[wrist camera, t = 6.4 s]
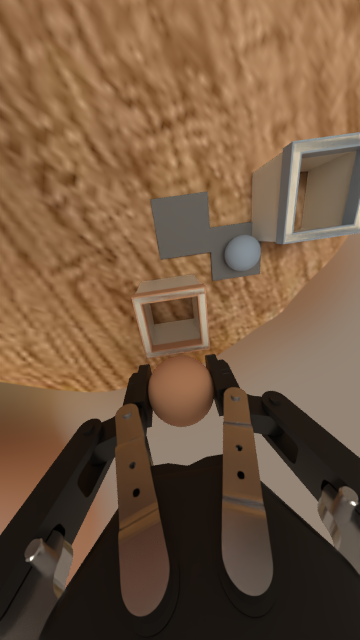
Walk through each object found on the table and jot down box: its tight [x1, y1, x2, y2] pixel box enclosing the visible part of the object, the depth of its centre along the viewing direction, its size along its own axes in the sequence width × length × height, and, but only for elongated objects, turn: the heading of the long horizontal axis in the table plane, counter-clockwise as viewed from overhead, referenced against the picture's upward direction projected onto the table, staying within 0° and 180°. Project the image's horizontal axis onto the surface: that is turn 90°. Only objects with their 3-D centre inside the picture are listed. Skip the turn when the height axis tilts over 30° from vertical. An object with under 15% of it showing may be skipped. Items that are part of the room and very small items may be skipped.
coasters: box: [151, 192, 261, 281], centre depth 25 cm, size 11×14×1 cm
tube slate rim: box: [251, 132, 360, 244], centre depth 21 cm, size 8×8×8 cm
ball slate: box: [225, 235, 261, 271], centre depth 24 cm, size 4×4×4 cm
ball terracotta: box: [148, 356, 214, 427], centre depth 13 cm, size 4×4×4 cm
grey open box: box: [131, 274, 210, 359], centre depth 25 cm, size 8×8×8 cm
